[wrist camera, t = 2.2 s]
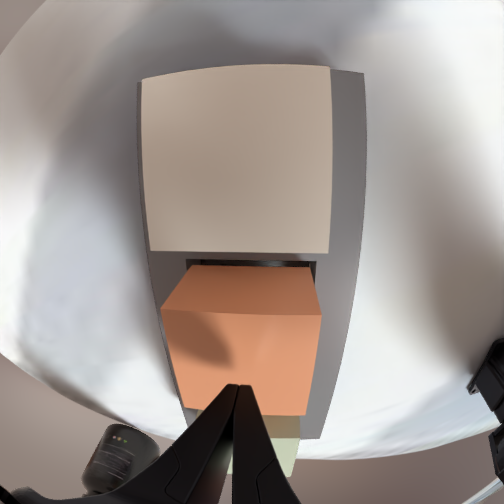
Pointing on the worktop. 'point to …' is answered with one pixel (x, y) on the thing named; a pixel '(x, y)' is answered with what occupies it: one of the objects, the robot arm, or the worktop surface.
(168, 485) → the robot arm
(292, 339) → the terracotta button
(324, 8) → the worktop surface
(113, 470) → the supplement bottle
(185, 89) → the cream button
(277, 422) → the sage button
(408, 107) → the worktop surface
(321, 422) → the console
